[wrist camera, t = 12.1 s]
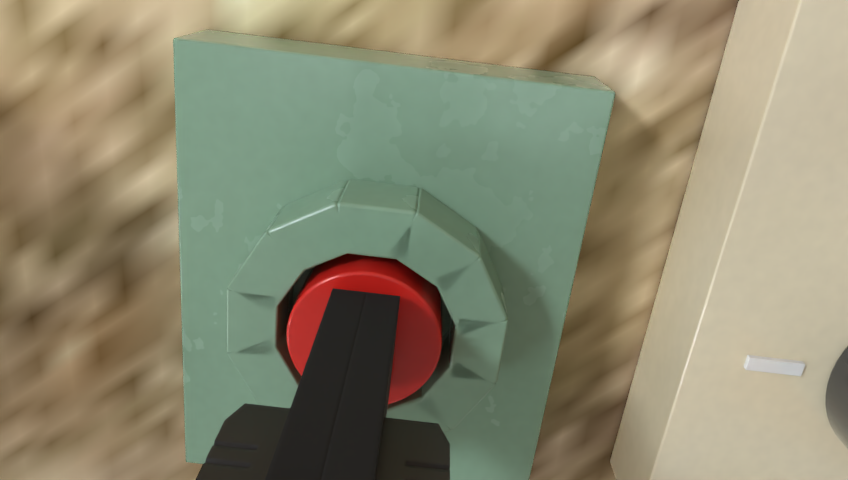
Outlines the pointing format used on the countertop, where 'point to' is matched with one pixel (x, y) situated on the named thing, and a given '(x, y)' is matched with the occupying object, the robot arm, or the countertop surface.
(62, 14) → the countertop surface
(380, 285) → the button
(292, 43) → the red push button panel
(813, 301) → the hob console
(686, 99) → the countertop surface
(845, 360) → the hob knob
